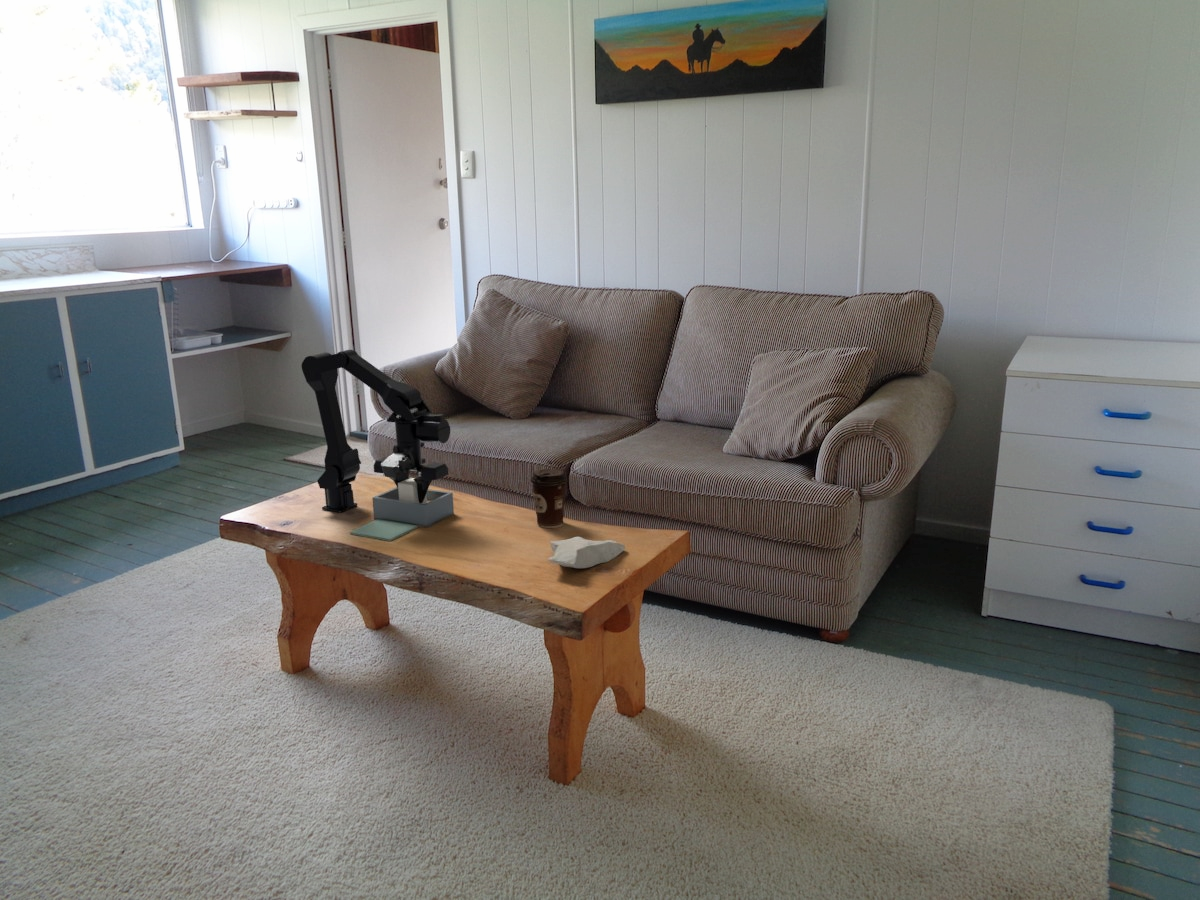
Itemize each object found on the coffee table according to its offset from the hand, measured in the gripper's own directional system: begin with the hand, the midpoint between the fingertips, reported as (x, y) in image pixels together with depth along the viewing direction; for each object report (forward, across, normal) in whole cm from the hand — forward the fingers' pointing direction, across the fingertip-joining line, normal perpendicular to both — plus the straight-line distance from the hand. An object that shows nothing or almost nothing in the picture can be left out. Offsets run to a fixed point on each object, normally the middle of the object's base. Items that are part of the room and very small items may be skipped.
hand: (413, 501), depth 226 cm
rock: (+4, +50, -10) cm, 51 cm away
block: (+1, 0, 0) cm, 1 cm away
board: (+4, 0, -12) cm, 12 cm away
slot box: (+4, 0, 0) cm, 4 cm away
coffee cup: (+4, +34, +8) cm, 35 cm away
